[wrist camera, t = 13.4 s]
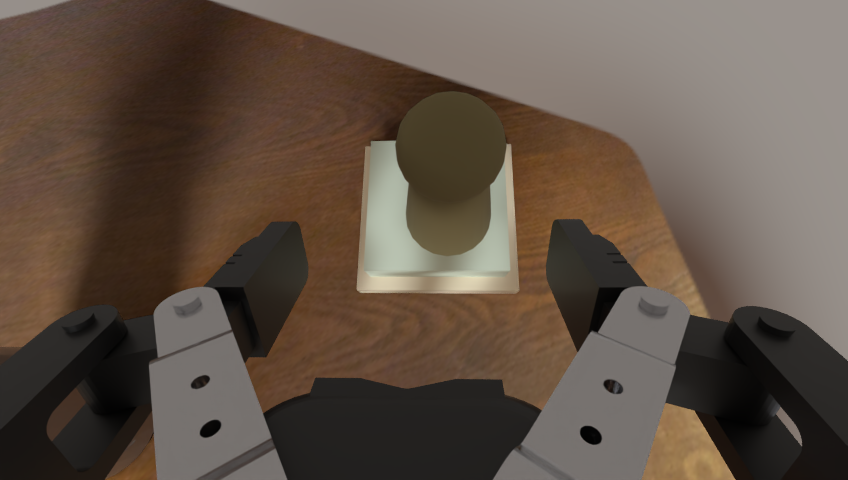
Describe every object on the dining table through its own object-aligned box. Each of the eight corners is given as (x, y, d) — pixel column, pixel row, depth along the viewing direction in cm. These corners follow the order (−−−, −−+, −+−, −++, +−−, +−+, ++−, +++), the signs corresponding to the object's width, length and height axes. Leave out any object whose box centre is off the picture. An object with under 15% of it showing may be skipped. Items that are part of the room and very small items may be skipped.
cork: (475, 268, 26) (497, 211, 15) (392, 239, 26) (359, 166, 16) (502, 190, 27) (539, 89, 16) (423, 165, 28) (410, 54, 17)
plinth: (360, 292, 30) (348, 284, 26) (369, 155, 33) (359, 129, 29) (515, 293, 29) (526, 285, 25) (508, 153, 32) (516, 126, 28)
